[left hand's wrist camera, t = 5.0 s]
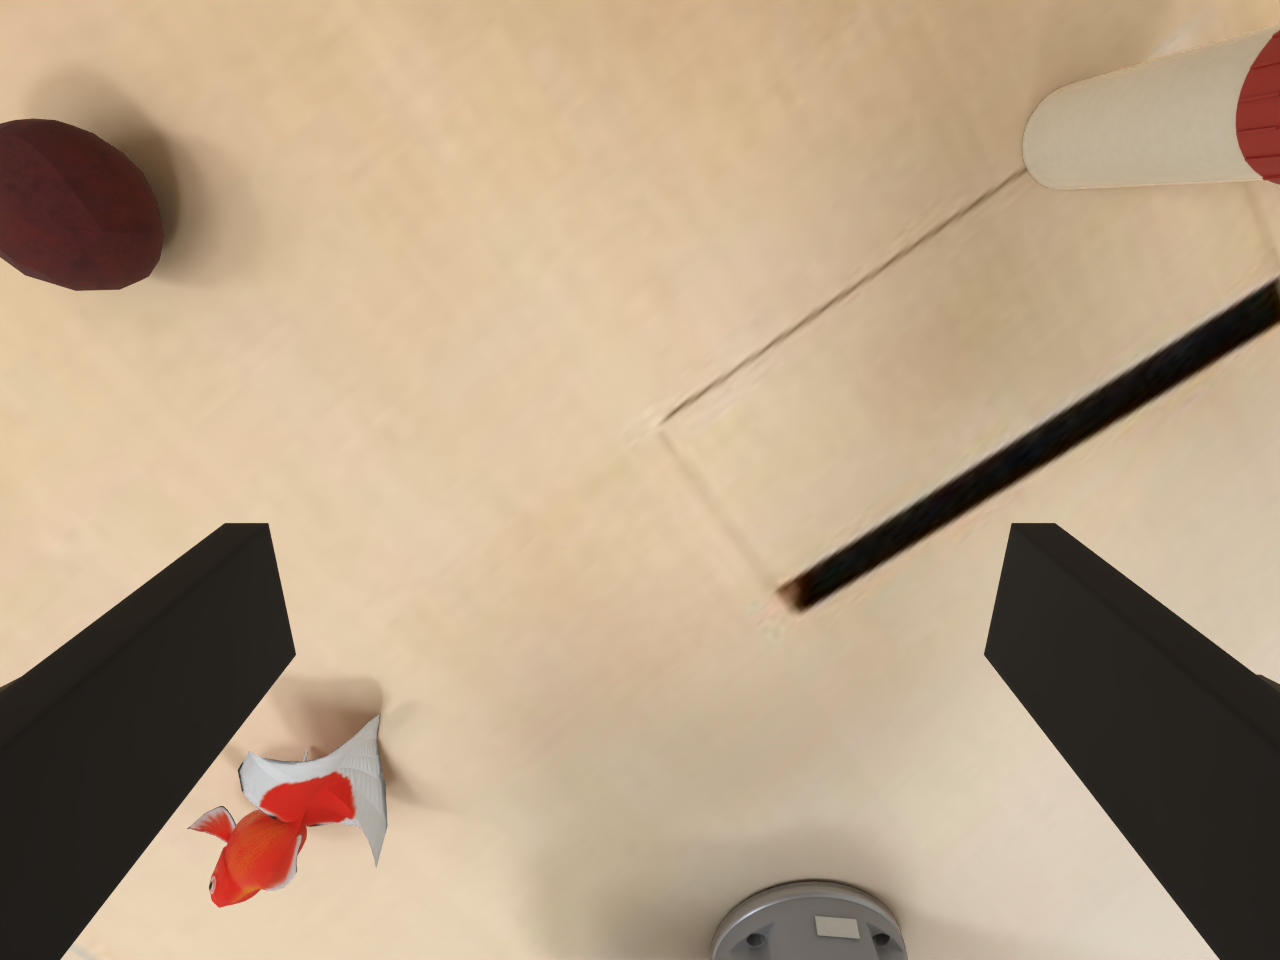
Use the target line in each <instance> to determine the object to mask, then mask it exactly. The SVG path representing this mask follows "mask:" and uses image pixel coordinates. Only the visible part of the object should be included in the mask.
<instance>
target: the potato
mask: <svg viewBox="0 0 1280 960" xmlns="http://www.w3.org/2000/svg"><path fill="white" fill-rule="evenodd" d="M163 236H164V235H163V230H162V224H161V219H160V213H159V208H158V203H157V201H156V199H155V197H154V195H153V193H152V191H151V189H150V187H149V185H148V183H147V181H146V179H145V177H144V174H143V172H142V171H141V170H140V169H138V168H137V167H136V166H135V165H134V164H133V163H132V162H131V161H130V160H129V159H128V158H127V157H126V156H125V155H124V154H123V153H122V152H120V151H119V150H117V149H116V148H114V147H113V146H111V145H110V144H108V143H107V142H105V141H104V140H102V139H101V138H99V137H98V136H96V135H95V134H93V133H91V132H88V131H85V130H83V129H80V128H78V127H75V126H72V125H69V124H66V123H63V122H59V121H56V120H45V119H23V120H14V121H9V122H5V123H1V124H0V257H1V258H2V259H4V260H5V261H6V262H8V263H9V264H11V265H12V266H13V267H15V268H16V269H17V270H19V271H20V272H22V273H23V274H24V275H26V276H29V277H33V278H36V279H39V280H43V281H46V282H49V283H52V284H56V285H59V286H62V287H65V288H69V289H72V290H75V291H82V290H120V289H122V288H124V287H127V286H129V285H131V284H133V283H136V282H138V281H140V280H142V279H144V278H147V277H149V275H150V274H151V272H152V271H153V269H154V267H155V266H156V264H157V263H158V261H159V260H160V255H161V249H162V242H163Z"/></svg>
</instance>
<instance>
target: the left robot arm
mask: <svg viewBox="0 0 1280 960" xmlns="http://www.w3.org/2000/svg"><path fill="white" fill-rule="evenodd" d="M295 655H296V652H295V648H294V643H293V638H292V633H291V629H290V624H289V619H288V614H287V610H286V605H285V600H284V596H283V591H282V586H281V581H280V577H279V572H278V567H277V562H276V558H275V553H274V548H273V543H272V539H271V534H270V529H269V524H268V523H225V524H223V525H222V526H221V527H219V528H218V529H217V530H215V531H214V532H213V533H211V534H210V535H209V536H207V537H206V538H205V539H203V540H202V541H201V542H199V543H198V544H197V545H195V546H194V547H193V548H191V549H190V550H189V551H187V552H186V553H185V554H183V555H182V556H181V557H179V558H178V559H177V560H175V561H174V562H173V563H172V564H170V565H169V566H168V567H166V568H165V569H164V570H162V571H161V572H160V573H158V574H157V575H156V576H154V577H153V578H152V579H150V580H149V581H148V582H146V583H145V584H144V585H142V586H141V587H140V588H138V589H137V590H136V591H134V592H133V593H132V594H130V595H129V596H128V597H126V598H125V599H124V600H122V601H121V602H120V603H118V604H117V605H116V606H115V607H113V608H112V609H111V610H109V611H108V612H107V613H105V614H104V615H103V616H101V617H100V618H99V619H97V620H96V621H95V622H93V623H92V624H91V625H89V626H88V627H87V628H85V629H84V630H83V631H81V632H80V633H79V634H77V635H76V636H75V637H73V638H72V639H71V640H69V641H68V642H67V643H65V644H64V645H63V646H61V647H60V648H59V649H58V650H56V651H55V652H54V653H52V654H51V655H50V656H48V657H47V658H46V659H44V660H43V661H42V662H40V663H39V664H38V665H36V666H35V667H34V668H32V669H31V670H30V671H28V672H27V673H26V674H24V675H23V676H22V677H20V678H18V679H16V680H14V681H12V682H10V683H8V684H6V685H4V686H2V687H0V960H60V959H61V958H62V957H63V955H64V954H65V953H66V951H67V950H68V949H69V948H70V946H71V945H72V944H73V942H74V941H75V940H76V939H77V937H78V936H79V935H80V933H81V932H82V931H83V930H84V928H85V927H86V926H87V924H88V923H89V922H90V921H91V919H92V918H93V917H94V915H95V914H96V913H97V911H98V910H99V909H100V908H101V906H102V905H103V904H104V902H105V901H106V900H107V899H108V897H109V896H110V895H111V893H112V892H113V891H114V889H115V888H116V887H117V886H118V884H119V883H120V882H121V880H122V879H123V878H124V877H125V875H126V874H127V873H128V871H129V870H130V869H131V868H132V866H133V865H134V864H135V862H136V861H137V860H138V858H139V857H140V856H141V855H142V853H143V852H144V851H145V849H146V848H147V847H148V846H149V844H150V843H151V842H152V840H153V839H154V838H155V836H156V835H157V834H158V833H159V831H160V830H161V829H162V827H163V826H164V825H165V824H166V822H167V821H168V820H169V818H170V817H171V816H172V814H173V813H174V812H175V811H176V809H177V808H178V807H179V805H180V804H181V803H182V802H183V800H184V799H185V798H186V796H187V795H188V794H189V793H190V791H191V790H192V789H193V787H194V786H195V785H196V783H197V782H198V781H199V780H200V778H201V777H202V776H203V774H204V773H205V772H206V771H207V769H208V768H209V767H210V765H211V764H212V763H213V761H214V760H215V759H216V758H217V756H218V755H219V754H220V752H221V751H222V750H223V749H224V747H225V746H226V745H227V743H228V742H229V741H230V740H231V738H232V737H233V736H234V734H235V733H236V732H237V730H238V729H239V728H240V727H241V725H242V724H243V723H244V721H245V720H246V719H247V718H248V716H249V715H250V714H251V712H252V711H253V710H254V708H255V707H256V706H257V705H258V703H259V702H260V701H261V699H262V698H263V697H264V696H265V694H266V693H267V692H268V690H269V689H270V688H271V686H272V685H273V684H274V683H275V681H276V680H277V679H278V677H279V676H280V675H281V674H282V672H283V671H284V670H285V668H286V667H287V666H288V665H289V663H290V662H291V661H292V659H293V658H294V657H295ZM984 655H985V657H986V658H987V659H988V661H989V662H990V663H991V665H992V666H993V667H994V668H995V670H996V671H997V672H998V674H999V675H1000V676H1001V677H1002V679H1003V680H1004V681H1005V683H1006V684H1007V685H1008V686H1009V688H1010V689H1011V690H1012V692H1013V693H1014V694H1015V696H1016V697H1017V698H1018V699H1019V701H1020V702H1021V703H1022V705H1023V706H1024V707H1025V708H1026V710H1027V711H1028V712H1029V714H1030V715H1031V716H1032V718H1033V719H1034V720H1035V721H1036V723H1037V724H1038V725H1039V727H1040V728H1041V729H1042V730H1043V732H1044V733H1045V734H1046V736H1047V737H1048V738H1049V740H1050V741H1051V742H1052V743H1053V745H1054V746H1055V747H1056V749H1057V750H1058V751H1059V752H1060V754H1061V755H1062V756H1063V758H1064V759H1065V760H1066V761H1067V763H1068V764H1069V765H1070V767H1071V768H1072V769H1073V771H1074V772H1075V773H1076V774H1077V776H1078V777H1079V778H1080V780H1081V781H1082V782H1083V783H1084V785H1085V786H1086V787H1087V789H1088V790H1089V791H1090V793H1091V794H1092V795H1093V796H1094V798H1095V799H1096V800H1097V802H1098V803H1099V804H1100V805H1101V807H1102V808H1103V809H1104V811H1105V812H1106V813H1107V814H1108V816H1109V817H1110V818H1111V820H1112V821H1113V822H1114V824H1115V825H1116V826H1117V827H1118V829H1119V830H1120V831H1121V833H1122V834H1123V835H1124V836H1125V838H1126V839H1127V840H1128V842H1129V843H1130V844H1131V846H1132V847H1133V848H1134V849H1135V851H1136V852H1137V853H1138V855H1139V856H1140V857H1141V858H1142V860H1143V861H1144V862H1145V864H1146V865H1147V866H1148V868H1149V869H1150V870H1151V871H1152V873H1153V874H1154V875H1155V877H1156V878H1157V879H1158V880H1159V882H1160V883H1161V884H1162V886H1163V887H1164V888H1165V889H1166V891H1167V892H1168V893H1169V895H1170V896H1171V897H1172V899H1173V900H1174V901H1175V902H1176V904H1177V905H1178V906H1179V908H1180V909H1181V910H1182V911H1183V913H1184V914H1185V915H1186V917H1187V918H1188V919H1189V921H1190V922H1191V923H1192V924H1193V926H1194V927H1195V928H1196V930H1197V931H1198V932H1199V933H1200V935H1201V936H1202V937H1203V939H1204V940H1205V941H1206V942H1207V944H1208V945H1209V946H1210V948H1211V949H1212V950H1213V952H1214V953H1215V954H1216V955H1217V957H1218V958H1219V959H1220V960H1280V684H1278V683H1276V682H1274V681H1272V680H1270V679H1268V678H1266V677H1264V676H1262V675H1256V674H1254V673H1253V672H1252V671H1250V670H1249V669H1248V668H1246V667H1245V666H1244V665H1242V664H1241V663H1240V662H1238V661H1237V660H1236V659H1234V658H1233V657H1232V656H1230V655H1229V654H1228V653H1226V652H1225V651H1224V650H1222V649H1221V648H1220V647H1219V646H1217V645H1216V644H1215V643H1213V642H1212V641H1211V640H1209V639H1208V638H1207V637H1205V636H1204V635H1203V634H1201V633H1200V632H1199V631H1197V630H1196V629H1195V628H1193V627H1192V626H1191V625H1189V624H1188V623H1187V622H1185V621H1184V620H1183V619H1181V618H1180V617H1179V616H1177V615H1176V614H1175V613H1173V612H1172V611H1171V610H1169V609H1168V608H1167V607H1165V606H1164V605H1163V604H1162V603H1160V602H1159V601H1158V600H1156V599H1155V598H1154V597H1152V596H1151V595H1150V594H1148V593H1147V592H1146V591H1144V590H1143V589H1142V588H1140V587H1139V586H1138V585H1136V584H1135V583H1134V582H1132V581H1131V580H1130V579H1128V578H1127V577H1126V576H1124V575H1123V574H1122V573H1120V572H1119V571H1118V570H1116V569H1115V568H1114V567H1112V566H1111V565H1110V564H1108V563H1107V562H1106V561H1105V560H1103V559H1102V558H1101V557H1099V556H1098V555H1097V554H1095V553H1094V552H1093V551H1091V550H1090V549H1089V548H1087V547H1086V546H1085V545H1083V544H1082V543H1081V542H1079V541H1078V540H1077V539H1075V538H1074V537H1073V536H1071V535H1070V534H1069V533H1067V532H1066V531H1065V530H1063V529H1062V528H1061V527H1059V526H1058V525H1057V524H1055V523H1012V524H1011V529H1010V534H1009V539H1008V543H1007V548H1006V553H1005V558H1004V562H1003V567H1002V572H1001V577H1000V581H999V586H998V591H997V595H996V600H995V605H994V610H993V614H992V619H991V624H990V629H989V633H988V638H987V643H986V648H985V652H984ZM711 960H908V957H907V952H906V948H905V944H904V941H903V938H902V935H901V932H900V929H899V927H898V924H897V922H896V920H895V918H894V917H893V915H892V914H891V912H890V911H889V910H888V909H887V908H886V907H885V906H884V905H883V904H882V903H881V902H880V901H878V900H877V899H876V898H874V897H872V896H871V895H869V894H867V893H865V892H863V891H861V890H858V889H856V888H853V887H850V886H846V885H842V884H837V883H830V882H798V883H791V884H785V885H781V886H777V887H774V888H771V889H768V890H765V891H763V892H760V893H758V894H756V895H754V896H752V897H750V898H748V899H747V900H745V901H743V902H742V903H741V904H739V905H738V906H737V907H735V908H734V909H733V910H732V911H731V912H730V913H729V914H728V915H727V916H726V917H725V918H724V919H723V921H722V922H721V923H720V925H719V927H718V928H717V930H716V932H715V935H714V937H713V941H712V945H711Z"/></svg>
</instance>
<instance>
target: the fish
mask: <svg viewBox="0 0 1280 960" xmlns="http://www.w3.org/2000/svg"><path fill="white" fill-rule="evenodd" d="M379 718H380V714H378V715H377V716H376V717H374V718H373V719H371V720H370V721H369V722H368V723H367V724H366V725H365V726H364V727H363V728H362V729H361V730H360V731H359V732H358V733H357V734H356V735H355V736H354V737H353V738H351V739H350V740H348V741H347V742H346V743H344V744H343V745H342V746H340V747H339V748H338V749H336V750H335V751H333V752H332V753H330V754H329V755H327V756H326V757H324V758H320V759H315V760H310V761H306V758H307V754H308V749H307V751H306V753H305V756H304V758H303V760H302V761H279V760H272V759H266V758H261V757H259V756H257V755H255V754H253V753H251V752H248V754H247V756H246V757H245V759H244V761H243V762H242V764H241V766H240V767H239V769H238V773H239V778H240V783H241V788H242V791H243V793H244V794H245V795H246V797H247V798H248V799H249V801H250V802H252V803H253V804H254V805H255V806H256V807H258V808H259V810H256V811H253V812H251V813H250V814H248V815H247V816H245V817H244V818H243V819H242V820H241V821H240V822H239V823H238V824H237V825H236V824H235V822H234V820H233V818H232V816H231V814H230V813H229V812H228V810H227V809H226V808H225V807H224V806H220V807H217V808H215V809H213V810H211V811H209V812H207V813H205V814H204V815H203V816H201V817H200V818H199V819H198V820H197V821H196V822H195V823H194V824H192V825H191V826H190V827H189V828H190V829H193V830H196V831H200V832H206V833H208V834H211V835H215V836H217V837H218V838H220V839H222V840H223V841H225V842H227V843H228V844H227V846H226V847H224V848H223V850H222V852H221V855H220V858H219V860H218V863H217V865H216V867H215V870H214V872H213V874H212V877H211V880H210V885H209V891H210V894H211V899H212V901H213V902H214V903H215V904H216V905H217V906H218V907H219V908H220V907H224V906H227V905H233V904H237V903H240V902H243V901H246V900H248V899H250V898H251V897H253V896H254V895H255V894H256V893H258V892H259V891H260V890H262V889H263V890H266V891H274V890H278V889H281V888H284V887H285V886H286V885H287V884H288V883H290V881H291V880H292V878H293V877H294V875H295V874H296V872H297V865H296V861H297V855H298V854H299V852H300V850H301V849H302V847H303V845H304V842H305V840H306V837H307V829H306V826H310V827H312V826H319V825H326V824H333V823H340V824H346V825H354V826H358V827H359V828H360V829H361V830H362V831H363V833H364V834H365V836H366V838H367V839H368V841H369V844H370V847H371V849H372V852H373V856H374V859H375V864H376V867H377V863H378V859H379V855H380V852H381V848H382V844H383V840H384V837H385V833H386V829H387V809H386V791H385V781H384V776H383V771H382V766H381V760H380V755H379V749H378V743H377V734H378V728H379ZM189 828H188V829H189Z"/></svg>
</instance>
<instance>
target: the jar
mask: <svg viewBox="0 0 1280 960" xmlns="http://www.w3.org/2000/svg"><path fill="white" fill-rule="evenodd" d="M1279 30H1280V22H1279V23H1276V24H1273V25H1269V26H1266V27H1262V28H1259V29H1256V30H1252V31H1249V32H1245V33H1242V34H1238V35H1235V36H1232V37H1228V38H1225V39H1221V40H1218V41H1215V42H1211V43H1208V44H1204V45H1201V46H1198V47H1194V48H1191V49H1187V50H1184V51H1181V52H1177V53H1174V54H1170V55H1167V56H1163V57H1160V58H1157V59H1153V60H1150V61H1146V62H1143V63H1140V64H1136V65H1133V66H1129V67H1126V68H1123V69H1119V70H1116V71H1112V72H1109V73H1106V74H1102V75H1099V76H1095V77H1092V78H1088V79H1085V80H1082V81H1078V82H1075V83H1071V84H1068V85H1065V86H1063V87H1061V88H1059V89H1057V90H1055V91H1054V92H1052V93H1051V94H1050V95H1048V96H1047V97H1046V98H1045V99H1044V100H1043V101H1042V102H1041V103H1040V104H1039V105H1038V106H1037V108H1036V109H1035V111H1034V112H1033V113H1032V115H1031V117H1030V119H1029V121H1028V123H1027V126H1026V129H1025V132H1024V136H1023V144H1022V152H1023V159H1024V163H1025V165H1026V168H1027V170H1028V172H1029V173H1030V175H1031V176H1032V177H1033V178H1034V179H1035V180H1036V181H1037V182H1038V183H1040V184H1041V185H1043V186H1045V187H1047V188H1050V189H1055V190H1075V189H1096V188H1117V187H1138V186H1159V185H1180V184H1201V183H1223V182H1244V181H1265V180H1263V179H1262V178H1263V177H1261V176H1260V175H1259V174H1257V173H1256V172H1255V171H1254V170H1253V169H1252V168H1251V167H1250V166H1249V165H1248V163H1247V162H1245V160H1244V159H1245V158H1244V157H1243V155H1242V152H1241V150H1240V148H1239V144H1238V140H1237V135H1236V110H1237V104H1238V99H1239V95H1240V92H1241V88H1242V86H1243V83H1244V81H1245V78H1246V76H1247V74H1248V72H1249V70H1250V67H1251V65H1252V64H1253V62H1254V61H1255V59H1256V58H1257V56H1258V55H1259V53H1260V52H1261V50H1262V49H1263V48H1264V46H1265V45H1266V44H1267V43H1268V41H1269V40H1270V39H1271V38H1272V35H1273V34H1274V33H1277V32H1278V31H1279Z"/></svg>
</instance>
